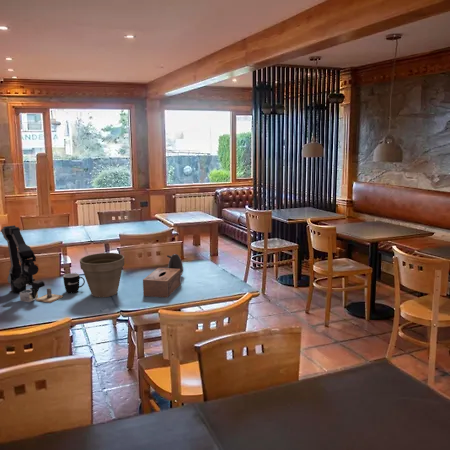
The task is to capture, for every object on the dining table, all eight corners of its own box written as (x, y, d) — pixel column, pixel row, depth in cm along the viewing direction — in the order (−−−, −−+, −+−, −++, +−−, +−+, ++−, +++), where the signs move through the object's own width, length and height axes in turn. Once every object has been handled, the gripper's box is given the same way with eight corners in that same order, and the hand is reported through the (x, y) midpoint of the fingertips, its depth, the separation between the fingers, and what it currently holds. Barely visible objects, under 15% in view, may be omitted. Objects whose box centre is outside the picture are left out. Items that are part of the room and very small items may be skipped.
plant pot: (85, 303, 267) (83, 265, 263) (78, 290, 289) (76, 255, 285) (130, 296, 278) (128, 260, 274) (120, 285, 299) (118, 250, 295)
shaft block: (36, 300, 272) (35, 290, 271) (48, 295, 281) (47, 285, 280) (50, 302, 269) (50, 292, 268) (62, 297, 278) (62, 287, 277)
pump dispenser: (168, 274, 322) (168, 252, 319) (184, 274, 321) (183, 252, 318) (166, 278, 311) (165, 255, 309) (182, 279, 311) (181, 256, 308)
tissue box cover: (158, 283, 304) (158, 267, 302) (180, 284, 301) (180, 268, 299) (143, 296, 279) (142, 279, 277) (167, 298, 276) (166, 281, 274)
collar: (20, 300, 272) (19, 292, 271) (28, 297, 278) (28, 288, 277) (29, 302, 270) (29, 293, 269) (38, 298, 276) (37, 290, 275)
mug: (65, 295, 281) (64, 278, 280) (63, 290, 289) (62, 274, 287) (86, 291, 287) (85, 275, 285) (83, 287, 295) (82, 271, 293)
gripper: (2, 273, 267) (5, 300, 270) (29, 276, 260) (32, 304, 263) (17, 268, 277) (20, 294, 280) (44, 271, 270) (46, 298, 273)
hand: (29, 297), depth 274 cm, fingers closed on collar, 7 cm apart
